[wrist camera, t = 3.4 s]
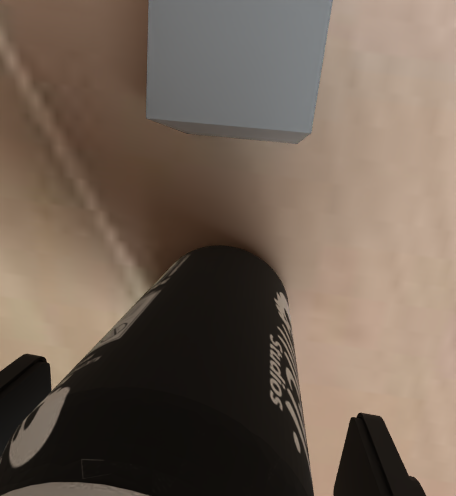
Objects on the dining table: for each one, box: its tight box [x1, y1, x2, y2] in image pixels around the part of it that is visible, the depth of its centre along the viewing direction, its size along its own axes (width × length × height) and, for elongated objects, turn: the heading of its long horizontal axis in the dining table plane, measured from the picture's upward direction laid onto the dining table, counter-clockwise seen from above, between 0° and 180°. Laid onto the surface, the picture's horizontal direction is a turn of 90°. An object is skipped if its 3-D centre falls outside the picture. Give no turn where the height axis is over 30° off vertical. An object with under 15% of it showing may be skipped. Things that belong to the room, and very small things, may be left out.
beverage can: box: [0, 246, 314, 496], centre depth 10 cm, size 7×7×12 cm
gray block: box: [146, 0, 333, 144], centre depth 11 cm, size 5×5×5 cm
